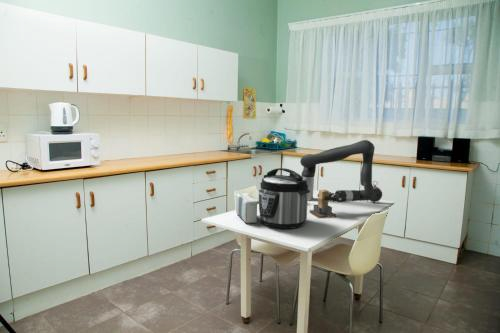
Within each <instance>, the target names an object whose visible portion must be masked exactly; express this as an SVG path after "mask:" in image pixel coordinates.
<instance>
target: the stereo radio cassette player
mask: <svg viewBox="0 0 500 333" xmlns="http://www.w3.org/2000/svg"><path fill="white" fill-rule="evenodd" d="M255 191H256V189H254V190H253V191H252V192H251V193H247V192H246V193H237V194H236V195H235V213H236V214H237V215H238V216H239V217H240V219H242V220H243V222H244V223H245V224H252V223H253V224H254V223H257V221H258V220H257V218H258V205H259V199H257V198H255V197H254V196H252V194H253V193H254V192H255Z"/></svg>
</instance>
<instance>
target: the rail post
mask: <svg viewBox="0 0 500 333" xmlns="http://www.w3.org/2000/svg"><path fill="white" fill-rule="evenodd" d="M329 192H330V191H329V190H327V189H319V190H318V194H319V197H317V198H318V200H317V205H318V207H320V208H326V207H328V206H329V200H328V201H325V200H324V197H329Z"/></svg>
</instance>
